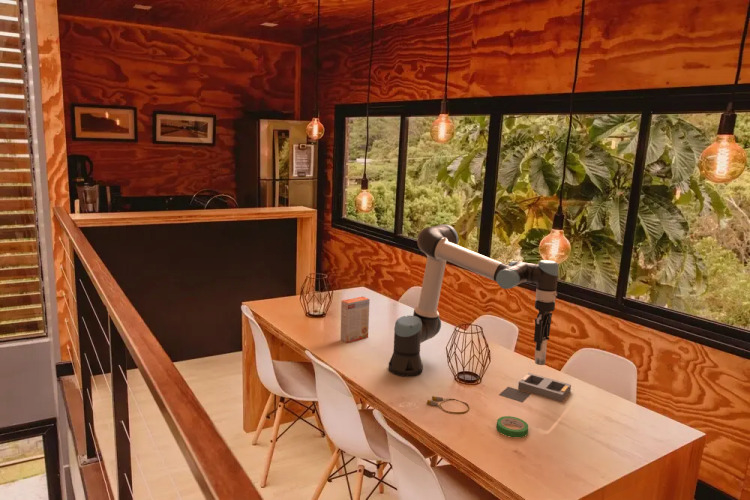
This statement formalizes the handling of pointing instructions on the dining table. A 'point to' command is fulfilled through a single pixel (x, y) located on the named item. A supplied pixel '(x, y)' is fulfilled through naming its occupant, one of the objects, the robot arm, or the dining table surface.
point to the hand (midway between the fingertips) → (540, 356)
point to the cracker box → (354, 319)
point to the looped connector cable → (442, 402)
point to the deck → (515, 394)
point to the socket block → (544, 387)
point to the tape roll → (512, 432)
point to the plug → (542, 361)
